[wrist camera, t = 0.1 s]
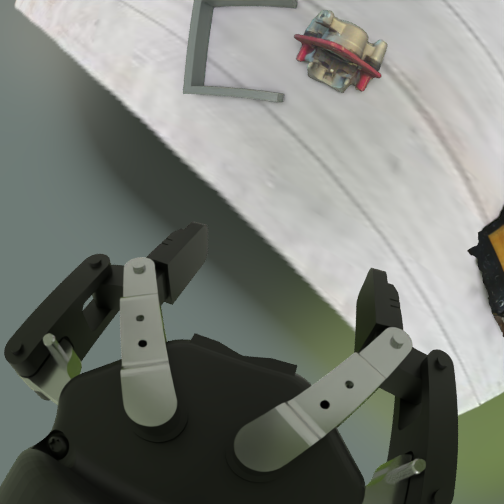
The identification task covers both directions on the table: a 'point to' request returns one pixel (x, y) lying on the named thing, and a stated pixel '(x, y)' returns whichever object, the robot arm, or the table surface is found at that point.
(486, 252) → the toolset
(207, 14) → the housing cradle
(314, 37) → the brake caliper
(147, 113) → the table surface
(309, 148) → the table surface
